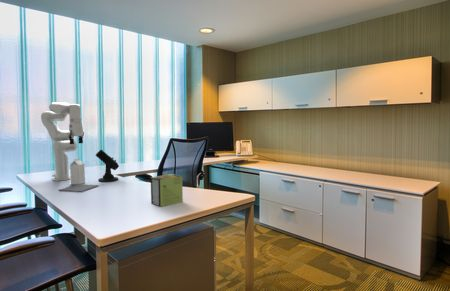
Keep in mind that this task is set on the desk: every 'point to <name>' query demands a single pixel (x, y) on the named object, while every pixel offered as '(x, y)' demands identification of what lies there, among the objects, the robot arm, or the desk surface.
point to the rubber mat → (78, 188)
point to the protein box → (166, 190)
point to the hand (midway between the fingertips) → (76, 143)
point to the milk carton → (77, 172)
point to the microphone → (107, 167)
